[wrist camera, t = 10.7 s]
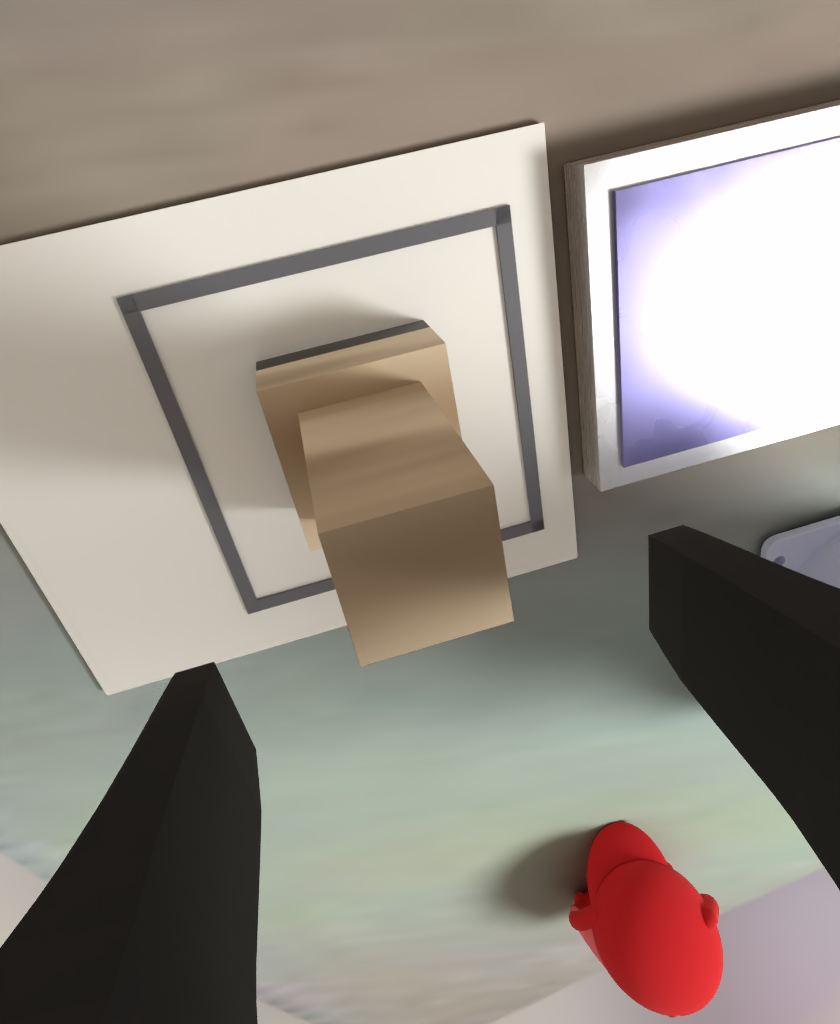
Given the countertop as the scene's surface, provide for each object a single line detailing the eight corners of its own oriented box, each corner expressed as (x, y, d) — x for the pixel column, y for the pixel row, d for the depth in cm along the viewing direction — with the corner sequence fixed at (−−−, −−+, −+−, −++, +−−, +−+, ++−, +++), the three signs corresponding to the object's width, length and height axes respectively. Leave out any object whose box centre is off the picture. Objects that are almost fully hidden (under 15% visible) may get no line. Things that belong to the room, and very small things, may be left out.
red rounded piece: (732, 943, 33) (789, 957, 27) (648, 1036, 31) (692, 1071, 26) (613, 803, 36) (644, 792, 30) (531, 882, 34) (549, 885, 29)
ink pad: (836, 404, 22) (868, 418, 21) (583, 475, 21) (602, 494, 20) (884, 89, 17) (929, 85, 16) (563, 163, 17) (586, 165, 15)
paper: (575, 554, 23) (579, 559, 22) (108, 691, 21) (106, 698, 21) (540, 122, 16) (545, 122, 16) (-145, 278, 15) (-152, 280, 14)
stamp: (450, 468, 20) (554, 638, 13) (303, 508, 19) (331, 706, 13) (423, 319, 17) (532, 432, 11) (256, 362, 17) (257, 506, 10)
